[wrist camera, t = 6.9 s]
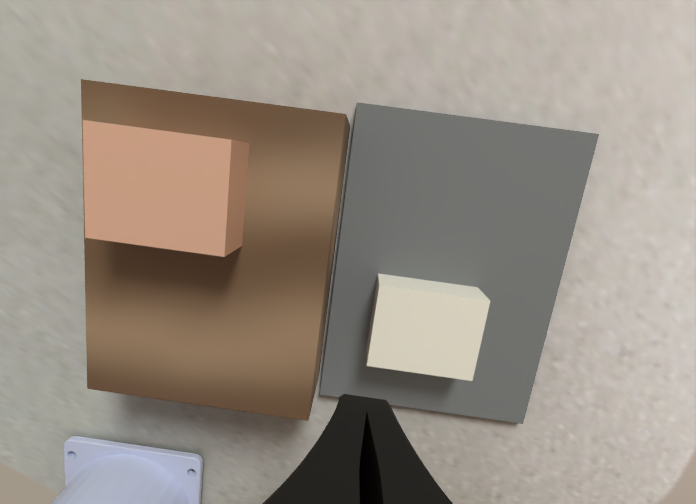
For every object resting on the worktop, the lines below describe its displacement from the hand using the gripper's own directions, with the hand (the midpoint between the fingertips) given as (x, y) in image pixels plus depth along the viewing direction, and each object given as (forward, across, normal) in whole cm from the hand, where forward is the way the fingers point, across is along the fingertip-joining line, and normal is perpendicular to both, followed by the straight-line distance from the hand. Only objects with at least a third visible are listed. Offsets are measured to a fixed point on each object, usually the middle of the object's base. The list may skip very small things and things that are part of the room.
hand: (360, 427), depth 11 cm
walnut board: (+9, +7, -2) cm, 12 cm away
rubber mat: (+9, -4, -2) cm, 10 cm away
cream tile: (+7, -3, 0) cm, 8 cm away
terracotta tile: (+5, +8, -5) cm, 11 cm away
